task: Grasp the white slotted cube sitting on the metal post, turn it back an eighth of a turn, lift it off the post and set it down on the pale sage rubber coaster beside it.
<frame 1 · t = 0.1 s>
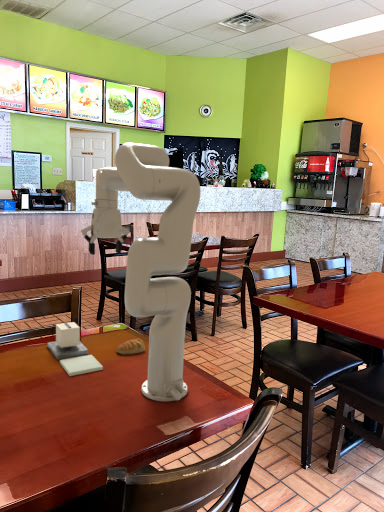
hand: (105, 253, 144), 31 cm above the table, tool pointing down, fingers open, 9 cm apart
coaster: (81, 366, 124), on the table
post stand: (67, 350, 135), on the table
pastry: (131, 351, 138), on the table
white slotted cube: (67, 343, 135), point 2 cm above the table, touching post stand
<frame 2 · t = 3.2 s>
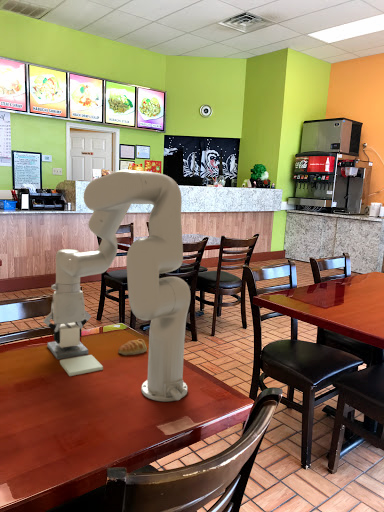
hand: (67, 340, 135), 4 cm above the table, tool pointing down, fingers closed on white slotted cube, 5 cm apart
white slotted cube: (67, 343, 135), point 2 cm above the table, touching gripper, post stand
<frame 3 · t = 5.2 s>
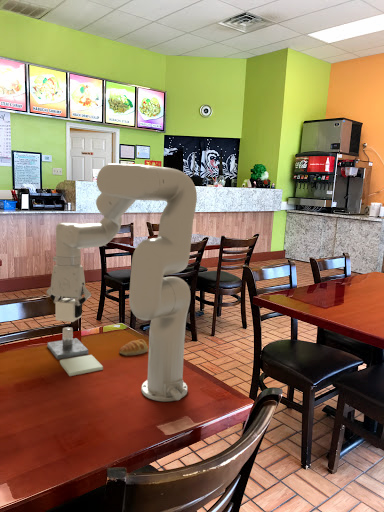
hand: (68, 315, 133), 12 cm above the table, tool pointing down, fingers closed on white slotted cube, 5 cm apart
white slotted cube: (68, 318, 133), point 11 cm above the table, touching gripper
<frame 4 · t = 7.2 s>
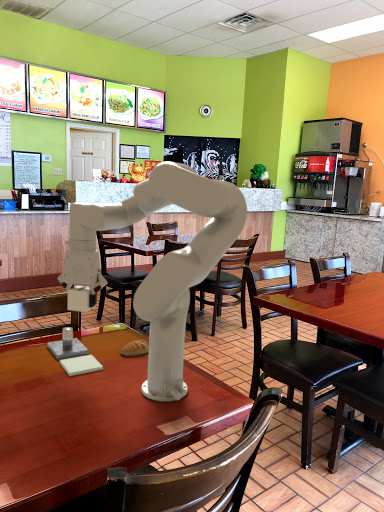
hand: (81, 304, 121), 19 cm above the table, tool pointing down, fingers closed on white slotted cube, 5 cm apart
white slotted cube: (81, 308, 121), point 18 cm above the table, touching gripper
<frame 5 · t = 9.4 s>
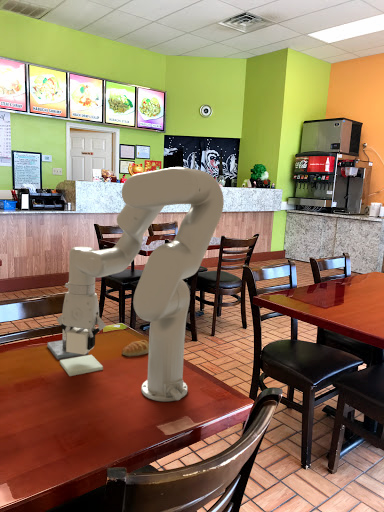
hand: (80, 346, 123), 6 cm above the table, tool pointing down, fingers closed on white slotted cube, 5 cm apart
white slotted cube: (80, 349, 123), point 5 cm above the table, touching gripper
when the fingers open (3 cm above the table, at t = 11.1 s): white slotted cube stays where it is, resting on coaster.
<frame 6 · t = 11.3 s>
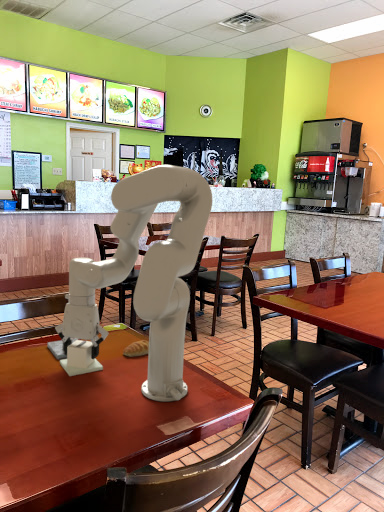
hand: (81, 355, 123), 4 cm above the table, tool pointing down, fingers open, 8 cm apart
white slotted cube: (81, 363, 124), point 1 cm above the table, touching coaster
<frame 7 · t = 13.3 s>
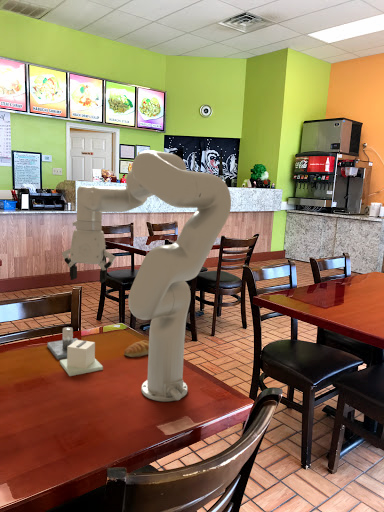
hand: (88, 280, 129), 25 cm above the table, tool pointing down, fingers open, 9 cm apart
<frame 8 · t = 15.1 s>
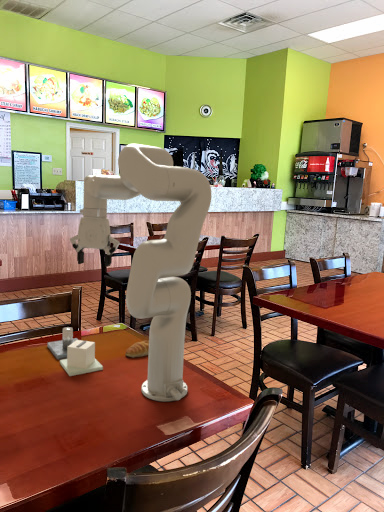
hand: (94, 264, 137), 28 cm above the table, tool pointing down, fingers open, 9 cm apart
at the end: white slotted cube inside the target area on the coaster (0.0 cm from its centre), point 1.0 cm above the coaster's base; white slotted cube tilted 0°; the gripper is holding nothing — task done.
